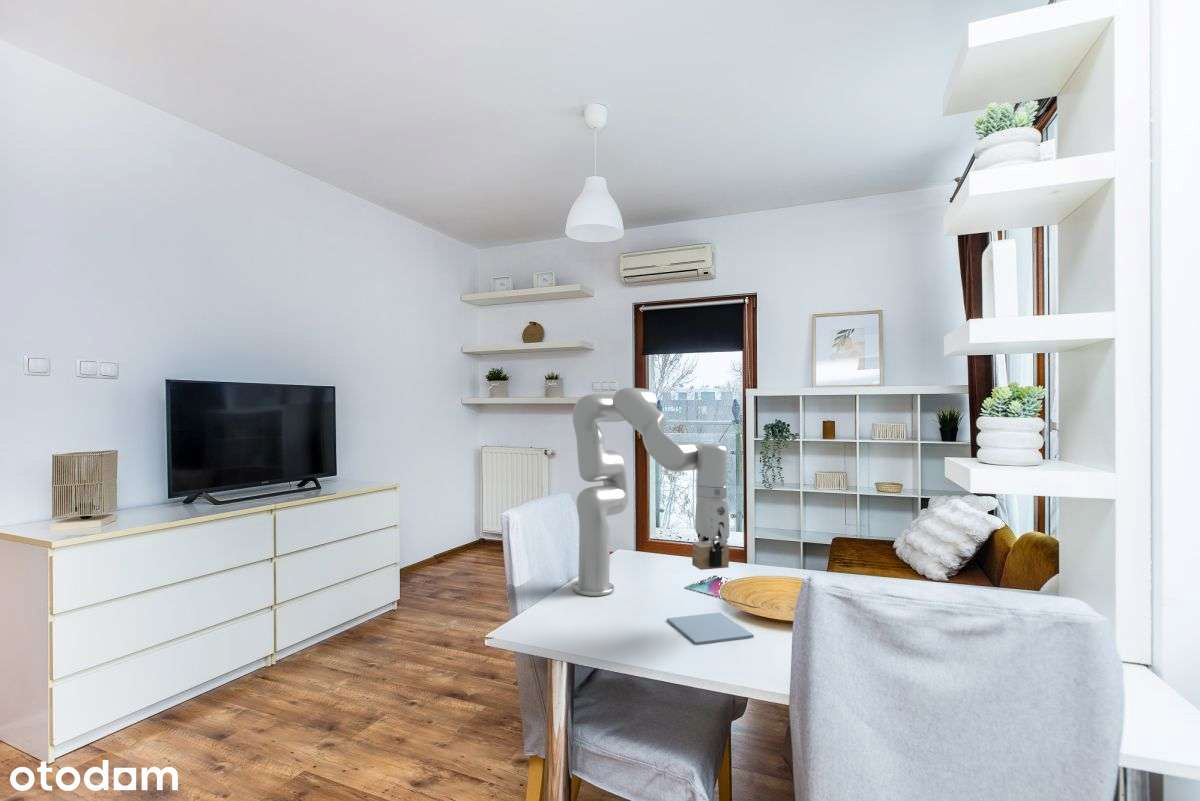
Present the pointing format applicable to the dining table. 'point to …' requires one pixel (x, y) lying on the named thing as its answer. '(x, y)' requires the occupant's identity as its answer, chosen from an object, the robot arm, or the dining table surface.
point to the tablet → (708, 586)
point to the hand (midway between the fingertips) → (710, 562)
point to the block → (707, 555)
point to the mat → (709, 628)
